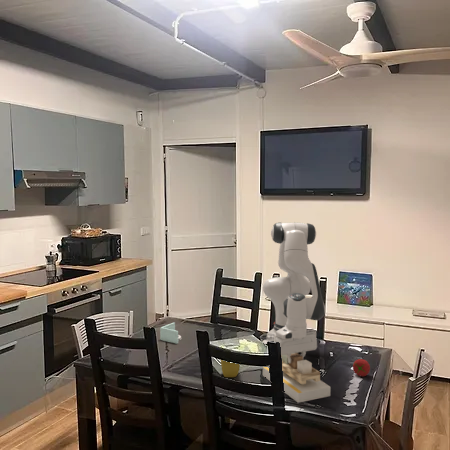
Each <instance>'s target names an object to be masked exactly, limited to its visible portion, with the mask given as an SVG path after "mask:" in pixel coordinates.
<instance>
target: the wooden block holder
mask: <svg viewBox="0 0 450 450" xmlns="http://www.w3.org/2000/svg"><path fill="white" fill-rule="evenodd" d="M281 357H282V355H281ZM290 358H292V359H293V363H289V364H286V363H284V362H283V361H282V371H283V372H284V373H286V374H287V375H289V376H290V377H292V378H293V379H295V380H296V381H297V382H299V383H300V384H306V380H310V379H312V380H314V381H316V382H317V381H320V380H321V372H320V371H319V370H317V369H316V368H314V367H313V366H312V373H307V374H301V373H300V372H298V371H297V361H301V360H304V357H302V356H301V354H299V353H293V354H291V356H290Z"/></svg>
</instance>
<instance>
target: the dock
mask: <svg viewBox="0 0 450 450" xmlns="http://www.w3.org/2000/svg"><path fill="white" fill-rule="evenodd" d="M262 376H263V377H264V378H265V377H266V378H265V379H266V380H268V381H269V382H271V381H270V373H269V368H268V367H264V366H262ZM283 383H284V391H285V392H284V393H285V395H287V396H288V397H289V398H291V399H293V400H294V401H295V402H297V403H299V404H300V403H303V402H304V403H305V402H308V401H313V400H317V399H323V398H327V397H331V391H332V390H331V389H332V388H331V386H330V385H328V384H327V383H326V382H324V381H323V380H321V379H320V381H317V382H316V381H314V380H312V379H310V380H306V384H300V383H299V382H297V381H296V380H295V379H293V378H292V377H290V376H289V375H287V374H286V373H284V372H283Z"/></svg>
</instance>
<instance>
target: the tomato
mask: <svg viewBox="0 0 450 450" xmlns="http://www.w3.org/2000/svg"><path fill="white" fill-rule="evenodd" d="M370 370H371V365H370V364H369V362H368V361H367V360H366V359H363V358H359V359H355V361H354V362H353V365H352V371H353V372H354V373H355V375H357V376H358V377H363V378H364V377H366V376H367V375H368V374H369V373H370Z"/></svg>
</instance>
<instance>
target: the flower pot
mask: <svg viewBox="0 0 450 450" xmlns="http://www.w3.org/2000/svg"><path fill="white" fill-rule="evenodd" d="M240 365H241V364H240ZM240 365H239V364H235V363H230V362H226V361H223V360H221V359H220V367H221V372H222V375H223V377H224V378H236V377H237V376H238V374H239V372H240Z"/></svg>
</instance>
